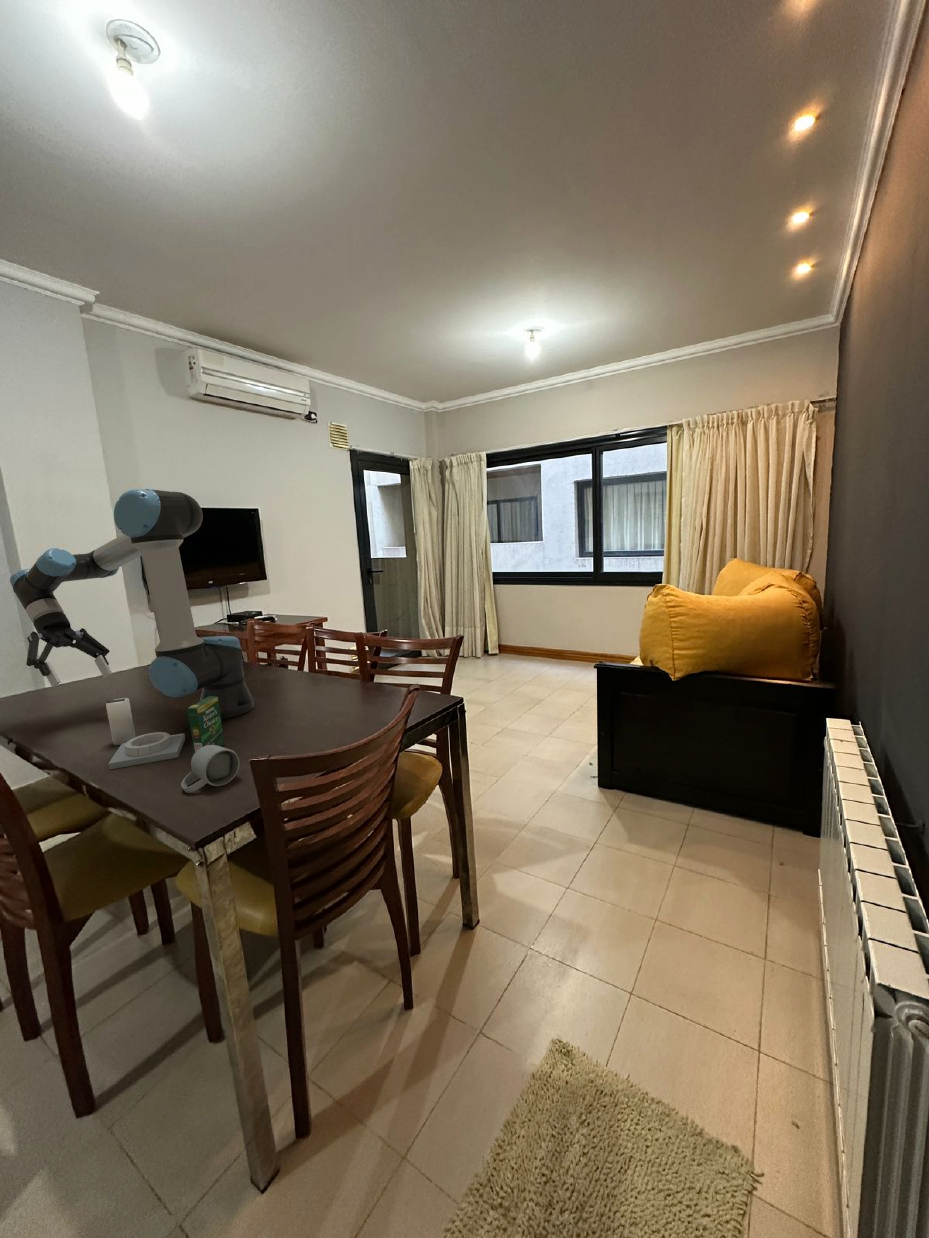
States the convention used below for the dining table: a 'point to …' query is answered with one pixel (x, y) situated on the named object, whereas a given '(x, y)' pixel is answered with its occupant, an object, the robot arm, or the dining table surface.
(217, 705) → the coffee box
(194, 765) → the ceramic mug
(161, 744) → the hub
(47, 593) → the robot arm
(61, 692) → the dining table surface
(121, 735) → the grey cylindrical peg
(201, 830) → the dining table surface
